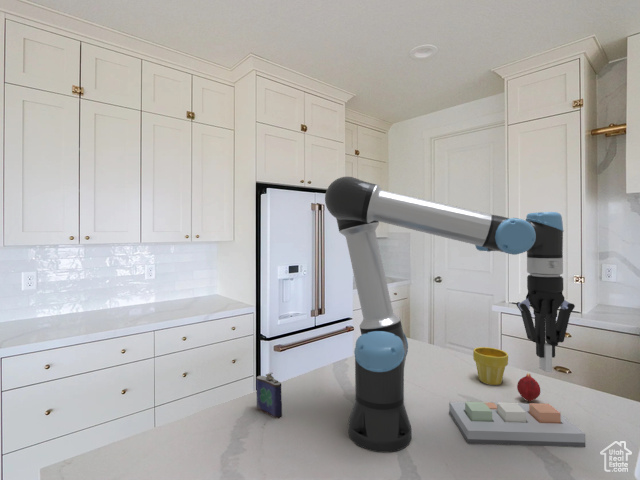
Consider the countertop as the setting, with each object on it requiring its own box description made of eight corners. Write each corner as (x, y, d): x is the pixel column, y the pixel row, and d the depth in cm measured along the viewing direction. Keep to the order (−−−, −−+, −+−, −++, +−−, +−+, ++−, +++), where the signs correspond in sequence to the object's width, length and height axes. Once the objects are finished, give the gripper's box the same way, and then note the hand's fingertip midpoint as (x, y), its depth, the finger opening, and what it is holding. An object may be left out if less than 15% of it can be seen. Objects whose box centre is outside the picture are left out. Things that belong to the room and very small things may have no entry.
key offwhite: (505, 424, 85) (505, 411, 85) (496, 414, 90) (496, 402, 89) (526, 424, 84) (526, 412, 84) (516, 414, 89) (516, 402, 89)
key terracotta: (539, 425, 84) (539, 412, 84) (529, 414, 89) (529, 403, 89) (560, 425, 84) (560, 413, 84) (548, 415, 89) (548, 403, 89)
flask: (254, 408, 98) (254, 370, 98) (262, 405, 100) (262, 367, 100) (277, 419, 92) (277, 379, 92) (285, 415, 94) (285, 375, 94)
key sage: (472, 423, 85) (472, 410, 85) (465, 413, 90) (465, 401, 90) (492, 423, 85) (492, 411, 85) (484, 413, 90) (484, 402, 90)
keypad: (467, 443, 81) (467, 429, 81) (449, 412, 95) (449, 400, 95) (585, 446, 79) (585, 432, 79) (548, 415, 93) (548, 403, 93)
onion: (544, 406, 98) (544, 378, 98) (521, 405, 99) (521, 377, 99) (535, 397, 104) (535, 370, 103) (514, 395, 105) (514, 369, 105)
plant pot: (509, 378, 117) (509, 349, 117) (506, 390, 108) (506, 359, 108) (475, 372, 123) (475, 344, 123) (470, 383, 114) (470, 353, 114)
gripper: (525, 276, 83) (526, 375, 83) (582, 276, 82) (583, 376, 82) (510, 273, 90) (511, 364, 90) (562, 273, 89) (563, 364, 90)
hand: (545, 370), depth 86 cm, fingers closed
